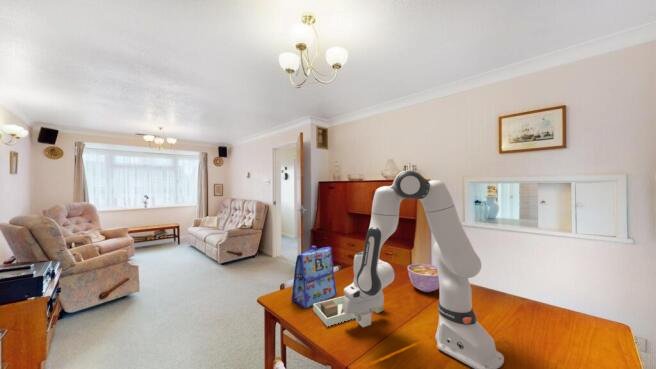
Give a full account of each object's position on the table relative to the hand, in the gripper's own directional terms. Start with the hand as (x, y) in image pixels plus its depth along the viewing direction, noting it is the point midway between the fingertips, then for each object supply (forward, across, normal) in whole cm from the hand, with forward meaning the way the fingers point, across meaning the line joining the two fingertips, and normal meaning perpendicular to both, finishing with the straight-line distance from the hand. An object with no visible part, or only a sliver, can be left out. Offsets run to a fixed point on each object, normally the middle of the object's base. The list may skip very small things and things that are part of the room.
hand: (363, 318), depth 107 cm
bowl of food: (+2, -52, -12) cm, 53 cm away
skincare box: (+2, -12, -7) cm, 14 cm away
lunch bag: (+2, +10, -32) cm, 34 cm away
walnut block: (+1, +11, -12) cm, 17 cm away
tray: (+2, +6, -12) cm, 14 cm away
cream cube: (+2, 0, 0) cm, 2 cm away
